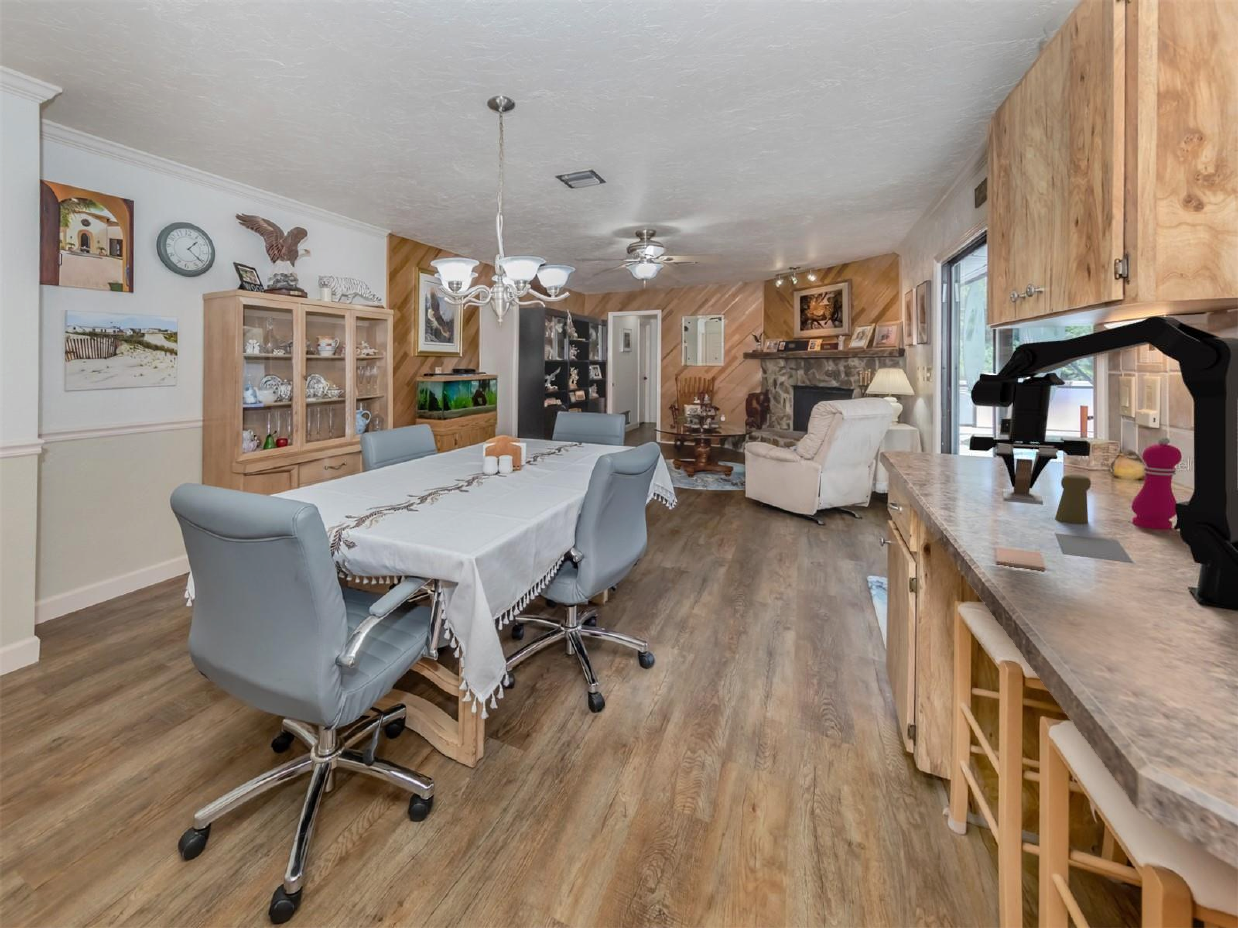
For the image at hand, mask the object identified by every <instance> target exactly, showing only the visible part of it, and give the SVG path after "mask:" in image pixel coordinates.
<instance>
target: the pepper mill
mask: <svg viewBox="0 0 1238 928" xmlns="http://www.w3.org/2000/svg"><path fill="white" fill-rule="evenodd" d="M1170 441H1171V440H1170V438H1168V437H1166V436H1163V437H1160V438H1158V441H1157V442H1158V443H1157V444H1152V445H1149V446H1148V447H1146V448H1145V449H1144V451H1142V455H1141V458H1142V460H1143V462H1144V463H1145V464H1146V465H1144V466H1143V469H1144V470H1142V471H1143V473H1145V479H1144V483H1143V486H1142V488H1141V489H1140V490H1139V492H1138V493H1137V494H1136V496H1135V497H1134V499H1133V500H1132V503H1131V510H1132V511H1133V514H1135V515H1136V516H1133V517H1132V520H1131V521H1132V522H1131V524H1132V525H1134V526H1137V527H1140V528H1144V529H1151V530H1163V531H1164V530H1172V529H1173V522H1172V520H1170V519H1172V518H1174V517H1176V516H1177V515H1176V511H1175V504H1176V503H1178V502H1177V499H1176V498H1175V495H1174V493H1173V489H1172V480H1173V477H1174V476H1175V475H1176V474H1177V473H1176V471H1177V468H1176V466H1177V465H1178V464H1179V463H1180V462H1181V461H1182V453H1181V452H1182V451H1180V449H1179V448H1178V447H1177V446H1174V445H1170Z"/></svg>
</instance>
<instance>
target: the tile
mask: <svg viewBox="0 0 1238 928" xmlns="http://www.w3.org/2000/svg"><path fill="white" fill-rule="evenodd" d="M995 553H996V555H995V556H996V564H997V565H996V566H998V565H1004V566H1003V567H1005V566H1009V567H1008V568H1012V567H1014V569H1019V568H1026V569H1030V570H1029V571H1033V570H1037V571H1036V572H1040V571H1041V572H1042V573H1045V569H1046V567H1045V563H1044V560H1043V557H1042V552H1040V551H1039V552H1037V551H1030V550H1021V549H1016V548H1014V549H1013V548H1008V547H1007V548H1005V547H998V546H997V547H995ZM1026 569H1025V570H1026ZM1041 572H1040V573H1041Z"/></svg>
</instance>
